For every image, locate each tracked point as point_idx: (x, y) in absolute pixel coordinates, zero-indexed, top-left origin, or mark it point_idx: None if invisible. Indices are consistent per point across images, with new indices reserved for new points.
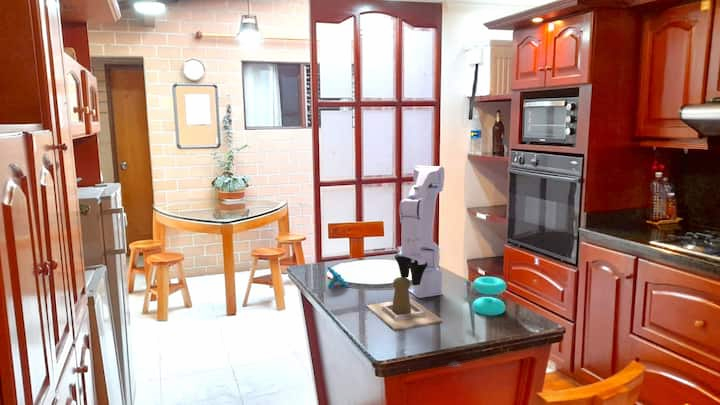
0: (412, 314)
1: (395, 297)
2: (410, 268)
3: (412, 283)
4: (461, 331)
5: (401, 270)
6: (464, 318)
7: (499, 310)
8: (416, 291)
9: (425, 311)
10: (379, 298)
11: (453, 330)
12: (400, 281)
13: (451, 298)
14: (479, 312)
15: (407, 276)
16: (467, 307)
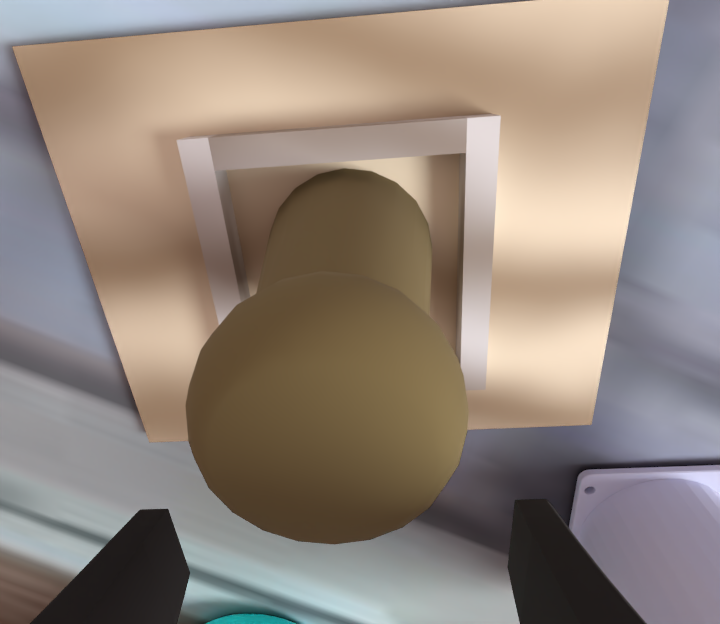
0: (213, 299)
1: (318, 235)
2: None
3: (159, 522)
4: (8, 462)
5: (573, 621)
6: (188, 541)
7: None
8: (652, 498)
9: None
10: None
11: (23, 433)
12: (214, 404)
13: (483, 600)
14: (218, 620)
15: (512, 573)
16: (330, 606)
